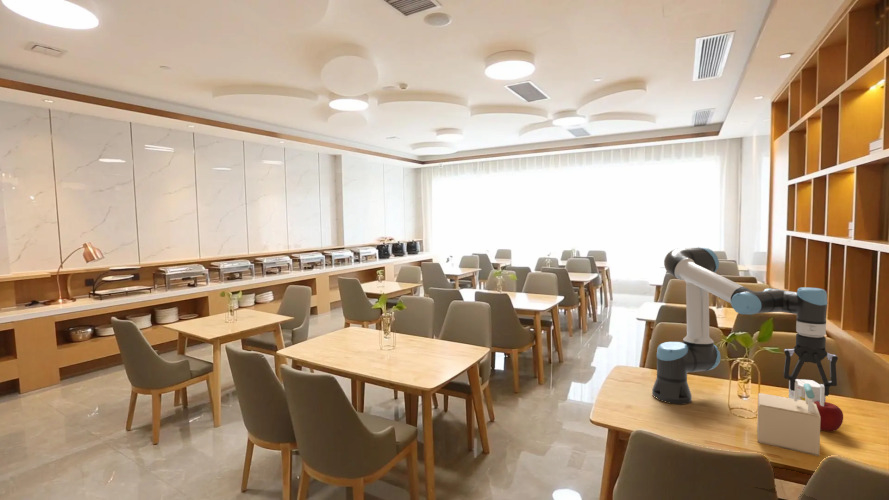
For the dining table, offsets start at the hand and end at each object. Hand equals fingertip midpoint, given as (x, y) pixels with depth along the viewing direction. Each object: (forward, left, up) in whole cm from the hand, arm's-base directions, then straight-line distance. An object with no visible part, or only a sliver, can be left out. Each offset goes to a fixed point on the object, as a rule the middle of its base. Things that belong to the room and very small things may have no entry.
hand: (808, 402), depth 143 cm
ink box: (+2, +33, -16) cm, 37 cm away
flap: (-6, 0, -2) cm, 6 cm away
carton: (-6, 0, -15) cm, 16 cm away
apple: (+6, +18, -15) cm, 25 cm away
